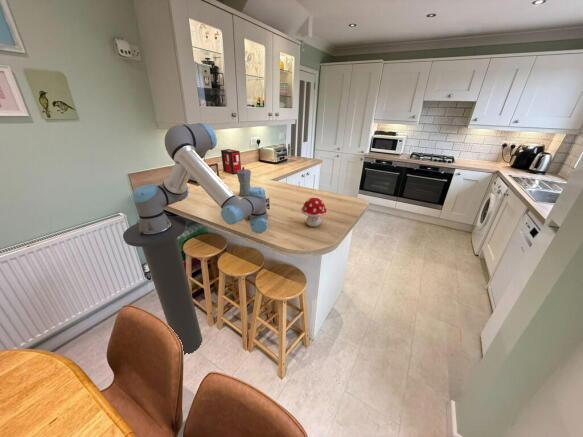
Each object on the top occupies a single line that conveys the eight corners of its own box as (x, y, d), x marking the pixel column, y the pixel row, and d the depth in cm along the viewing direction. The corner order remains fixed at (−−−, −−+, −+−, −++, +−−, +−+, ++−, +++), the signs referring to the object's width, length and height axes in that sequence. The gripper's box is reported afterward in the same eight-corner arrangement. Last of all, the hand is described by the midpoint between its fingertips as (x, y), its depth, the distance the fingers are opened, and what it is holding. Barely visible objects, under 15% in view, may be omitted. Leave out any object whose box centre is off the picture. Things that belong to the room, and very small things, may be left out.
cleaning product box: (223, 171, 225) (220, 150, 216) (231, 169, 231) (228, 149, 222) (233, 174, 215) (231, 152, 206) (241, 172, 221) (239, 151, 212)
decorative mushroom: (331, 223, 126) (333, 197, 120) (316, 233, 117) (317, 205, 110) (311, 216, 135) (312, 191, 128) (295, 224, 125) (295, 198, 119)
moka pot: (239, 198, 160) (236, 169, 151) (237, 191, 173) (235, 164, 164) (253, 197, 162) (251, 168, 153) (250, 190, 175) (248, 163, 167)
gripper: (236, 221, 113) (237, 203, 133) (278, 217, 117) (273, 201, 137) (234, 207, 110) (235, 191, 130) (278, 204, 114) (272, 189, 134)
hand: (254, 196), depth 133 cm, fingers closed on can, 8 cm apart
